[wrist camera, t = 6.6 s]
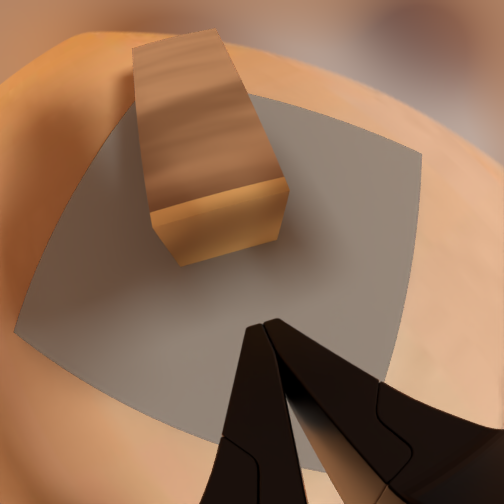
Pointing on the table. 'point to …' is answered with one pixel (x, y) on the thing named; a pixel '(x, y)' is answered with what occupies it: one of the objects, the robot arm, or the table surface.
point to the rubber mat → (228, 273)
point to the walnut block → (204, 150)
